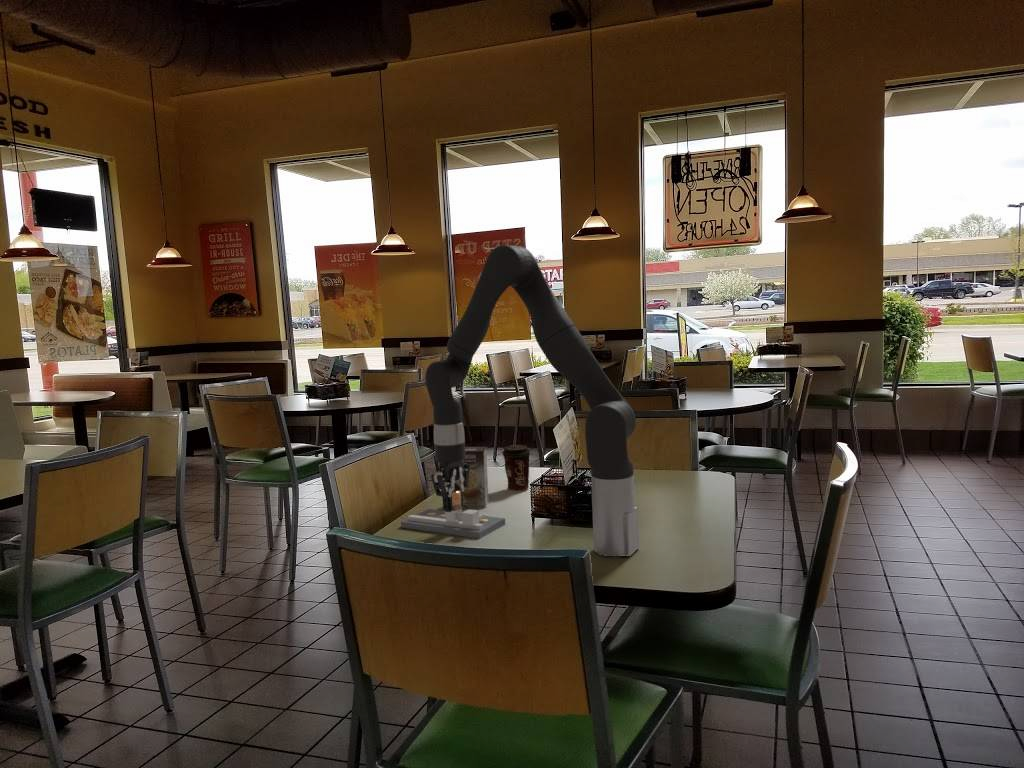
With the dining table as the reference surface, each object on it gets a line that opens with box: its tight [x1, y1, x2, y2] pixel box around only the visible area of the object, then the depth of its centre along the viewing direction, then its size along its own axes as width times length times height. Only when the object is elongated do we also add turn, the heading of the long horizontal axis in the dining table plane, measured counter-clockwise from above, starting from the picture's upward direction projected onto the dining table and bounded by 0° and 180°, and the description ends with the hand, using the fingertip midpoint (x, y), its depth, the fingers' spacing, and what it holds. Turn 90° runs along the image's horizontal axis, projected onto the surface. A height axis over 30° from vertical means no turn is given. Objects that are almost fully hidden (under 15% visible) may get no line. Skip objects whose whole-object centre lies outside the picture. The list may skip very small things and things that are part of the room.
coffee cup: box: [502, 444, 531, 493], centre depth 217 cm, size 9×8×13 cm
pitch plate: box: [400, 508, 506, 539], centre depth 185 cm, size 24×12×6 cm, turn 60°
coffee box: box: [462, 446, 490, 509], centre depth 203 cm, size 9×6×16 cm
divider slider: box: [445, 488, 468, 523], centre depth 182 cm, size 4×8×8 cm, turn 150°
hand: (453, 508), depth 180 cm, fingers closed on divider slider, 4 cm apart
